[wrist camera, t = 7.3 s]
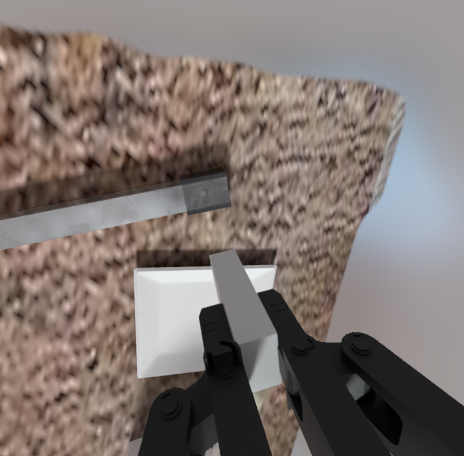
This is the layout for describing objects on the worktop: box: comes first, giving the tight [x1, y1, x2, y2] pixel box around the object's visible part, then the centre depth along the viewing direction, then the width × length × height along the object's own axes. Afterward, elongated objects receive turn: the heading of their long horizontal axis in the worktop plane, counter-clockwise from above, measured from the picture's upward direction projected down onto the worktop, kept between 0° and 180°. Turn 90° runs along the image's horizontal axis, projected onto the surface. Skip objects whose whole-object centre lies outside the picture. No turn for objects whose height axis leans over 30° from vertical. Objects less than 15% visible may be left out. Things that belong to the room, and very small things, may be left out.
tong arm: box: [0, 170, 231, 250], centre depth 29 cm, size 26×4×1 cm, turn 98°
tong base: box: [0, 167, 223, 217], centre depth 29 cm, size 37×4×2 cm, turn 98°
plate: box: [134, 265, 277, 378], centre depth 39 cm, size 19×19×2 cm
